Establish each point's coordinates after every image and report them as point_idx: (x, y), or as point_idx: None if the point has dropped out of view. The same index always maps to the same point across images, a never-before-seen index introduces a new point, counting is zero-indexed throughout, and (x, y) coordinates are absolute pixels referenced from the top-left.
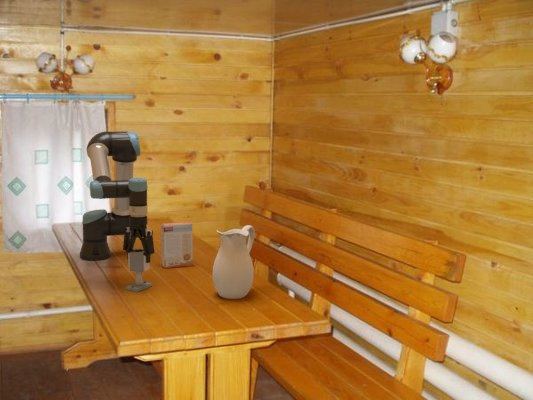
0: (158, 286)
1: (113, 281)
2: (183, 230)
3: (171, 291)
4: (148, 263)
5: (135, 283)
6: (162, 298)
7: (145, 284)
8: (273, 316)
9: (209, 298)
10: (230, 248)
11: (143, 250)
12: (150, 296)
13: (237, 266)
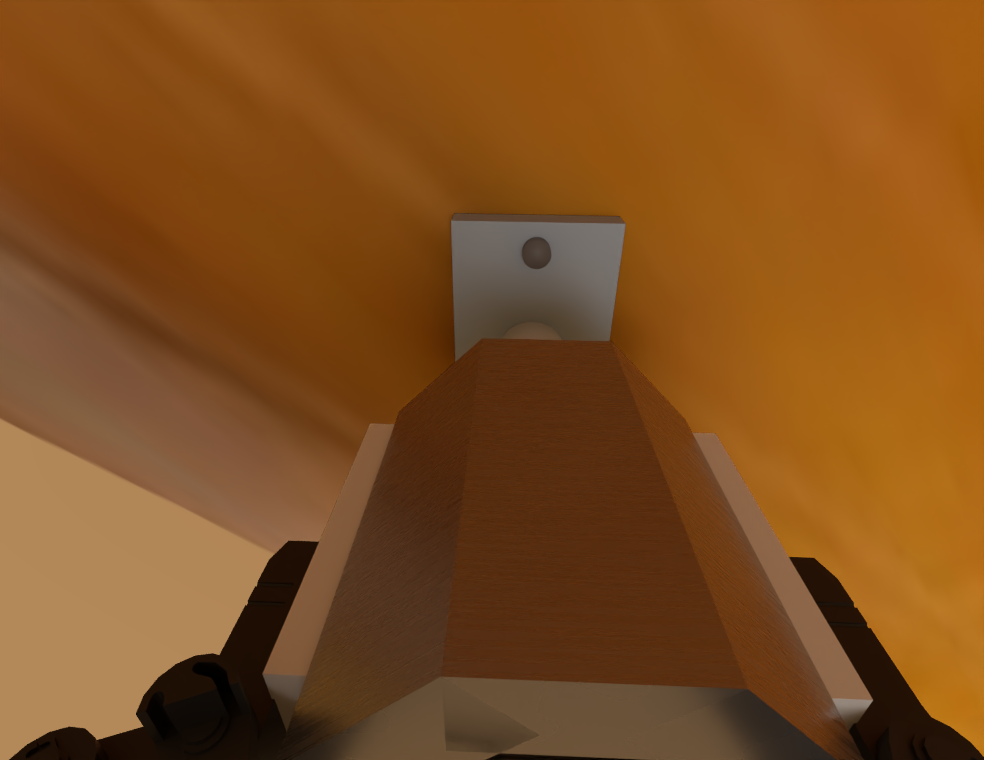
0: (701, 191)
1: (159, 297)
2: None
3: (922, 273)
4: (755, 524)
5: (464, 329)
6: (889, 469)
7: (584, 305)
8: None
9: None
10: None
11: (641, 733)
12: (763, 473)
13: None
